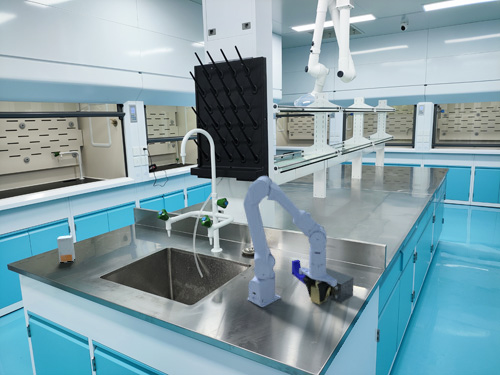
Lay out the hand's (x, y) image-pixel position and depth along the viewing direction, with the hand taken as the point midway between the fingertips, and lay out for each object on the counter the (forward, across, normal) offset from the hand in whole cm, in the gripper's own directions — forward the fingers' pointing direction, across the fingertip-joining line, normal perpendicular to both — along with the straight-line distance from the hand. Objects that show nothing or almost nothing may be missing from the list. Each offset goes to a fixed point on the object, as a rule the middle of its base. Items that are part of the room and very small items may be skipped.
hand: (317, 298), depth 121 cm
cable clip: (+2, +15, -12) cm, 19 cm away
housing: (+2, 0, -10) cm, 10 cm away
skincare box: (+2, +107, +52) cm, 119 cm away
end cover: (+1, 0, -4) cm, 4 cm away
